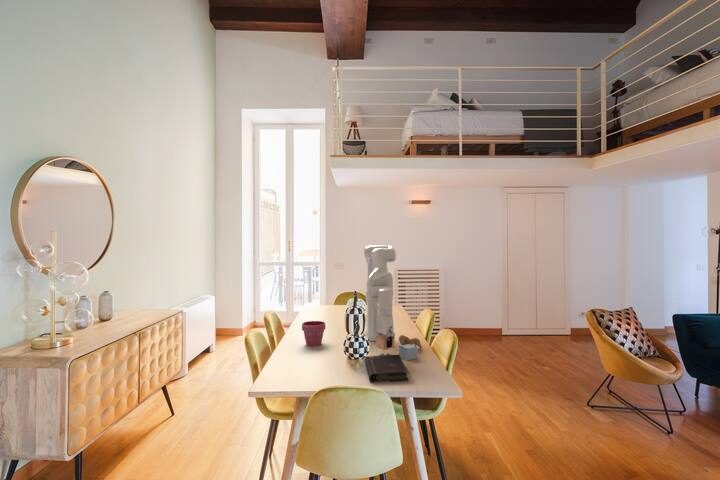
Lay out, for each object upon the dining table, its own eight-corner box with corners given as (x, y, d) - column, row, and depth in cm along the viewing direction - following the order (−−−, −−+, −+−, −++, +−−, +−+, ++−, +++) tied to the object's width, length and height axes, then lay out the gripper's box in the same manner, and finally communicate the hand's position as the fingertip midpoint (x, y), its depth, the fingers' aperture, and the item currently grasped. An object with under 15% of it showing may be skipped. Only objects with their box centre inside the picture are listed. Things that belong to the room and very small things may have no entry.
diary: (369, 384, 173) (369, 373, 173) (364, 365, 198) (364, 355, 198) (410, 382, 174) (410, 371, 174) (400, 364, 199) (400, 354, 199)
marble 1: (378, 359, 206) (377, 353, 207) (383, 358, 208) (382, 352, 208) (381, 359, 204) (381, 353, 204) (386, 358, 205) (385, 352, 206)
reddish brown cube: (376, 346, 207) (376, 335, 207) (386, 344, 211) (386, 333, 211) (383, 350, 201) (383, 338, 201) (394, 347, 205) (394, 336, 205)
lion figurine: (401, 352, 217) (401, 336, 217) (397, 350, 222) (396, 334, 222) (424, 349, 222) (424, 334, 222) (419, 347, 227) (419, 332, 227)
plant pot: (310, 339, 245) (310, 319, 245) (329, 342, 239) (329, 321, 238) (297, 345, 232) (297, 324, 232) (317, 348, 226) (317, 326, 226)
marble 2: (384, 359, 205) (383, 354, 207) (389, 360, 207) (388, 354, 208) (387, 357, 203) (386, 352, 205) (392, 357, 205) (391, 352, 207)
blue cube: (399, 356, 209) (399, 345, 209) (409, 354, 213) (409, 343, 213) (407, 360, 203) (407, 349, 203) (417, 358, 207) (417, 347, 207)
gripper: (370, 309, 211) (370, 342, 212) (389, 316, 196) (388, 351, 197) (381, 308, 215) (381, 340, 215) (400, 314, 200) (400, 348, 201)
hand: (385, 345), depth 206 cm, fingers closed on reddish brown cube, 7 cm apart
